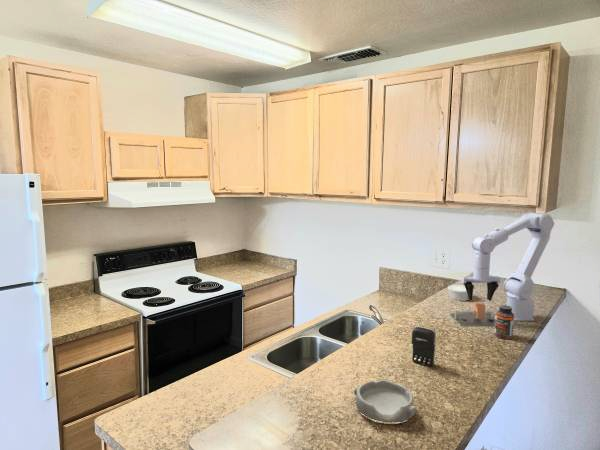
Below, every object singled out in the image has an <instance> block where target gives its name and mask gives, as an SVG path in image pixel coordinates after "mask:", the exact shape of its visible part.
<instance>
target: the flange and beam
mask: <svg viewBox="0 0 600 450" xmlns="http://www.w3.org/2000/svg"><path fill="white" fill-rule="evenodd" d="M449 316H450V317H451V318H452V319H453V320H454V321H456V323H457V324H458V325H459V326H462V327H495V320H496V313H494V311H492V310H485V318H482V320H480V319H479V318H476V311H473V310H455V311H454V312H453V313H451V312H450V313H449Z"/></svg>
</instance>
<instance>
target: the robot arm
mask: <svg viewBox="0 0 600 450" xmlns="http://www.w3.org/2000/svg"><path fill="white" fill-rule="evenodd" d="M554 226H555V221H554V219H553V217H552V215H550V214H549V213H548V214H547V213H537V212H536V213H535V212H532V211H530V212H529V211H528V212H526V213H525V214H521V216H520V217H519V218H518V219H517V220H515V221H513V222H512V223H510V224H508V225H507V226H505V227H504V228H503V227H495V228H494V229H493V230H492V231H490V232H489V233H485V234H483V236H478V237H476V238H475V239H474V240H473V242H472V243H471V248H472V249H473V254H474V256H473V257H474V258H473V259H474V260H473V273H472V275H473V276H462V277H461V282H462V283H463V284H462V285H464V286H465V288H466V291H467V294H468V299H469V301H470V302H471V301H473V296H474V294H473V292H474V289H475V285H473V283H474V284H476V283H477V284H478V283H481V284H482V283H483V284H484V283H486V286H487V292H486V293H487V294H486V299H487V301H490V302H491V301H492V299H493V296H494V294H495V292H496V290H497V289H498V288H499V285H500V283H501V278H500V277H499V276H497V277H496V276H490V267H491V253H493V251H494V250H495V248H496V247H497V246H499V245H501V244H503V243H504V242H506V241H508V240H509V236H511V235H513V234H516V233H518V232H520V231H522V230H524V229H527V230H528V232H529V233H530V234H531V236H532V239H530V243H529V245H528V247H527V248H526V251H525V253H524V255H523V257H522V260H521V262H520V263H519V265H518V268H517V270H516V271H515V272H513V273H511V274H510V275H509V277H508V278H507V279H505V280H504V282H503V284H502V285H503V286H502V287H503V290H504V291H505V294H506V303H505V304H506V306H510V307H512V311H511V312H512V313H513V314H514V322H515V321H517V322H518V321H522V322H523V321H524V322H525V321H526V322H527V321H528V322H530V321H531V322H532V321H535V319H534V310H535V301H534V299H533V298H532V297H531V296H532V294H533V287H534V285H535V283H534V281H533V279H532V276H533V274H534V273H535V270H536V268H537V265H538V264H539V262H540V260H541V257H542V255H543V254H544V251H545V249H546V247H547V245H548V243H549V240H550V238H551V232H552V229H554Z"/></svg>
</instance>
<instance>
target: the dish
mask: <svg viewBox="0 0 600 450" xmlns="http://www.w3.org/2000/svg"><path fill="white" fill-rule="evenodd" d="M353 393H354V395H355V404H356V408H357V410H358V409H359V411H360V412H361V413H362V414H364V415H365V416H367V417H369V418H371V419H374V420H378V421H383V422H403V421H405V420H408V419H409V418H410V417H411V418H412V417H414V416H415V414H416V412H417V406H416V405H414V397H413V394H412V392H411V391H410V390H409V389H408V388H407V387H405V386H404V385H401V384H399V383H396V382H394V381H390V380H386V379H380V380H378V381H373V380H369V381H366V382H364V383H362V384H361V385H360V386H358V385H357V386H356V387H355V388H354V392H353ZM359 411H358V412H359ZM360 412H359V413H360ZM361 413H360V414H361ZM411 418H410V419H411ZM410 419H409V420H410ZM409 420H408V421H409Z"/></svg>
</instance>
